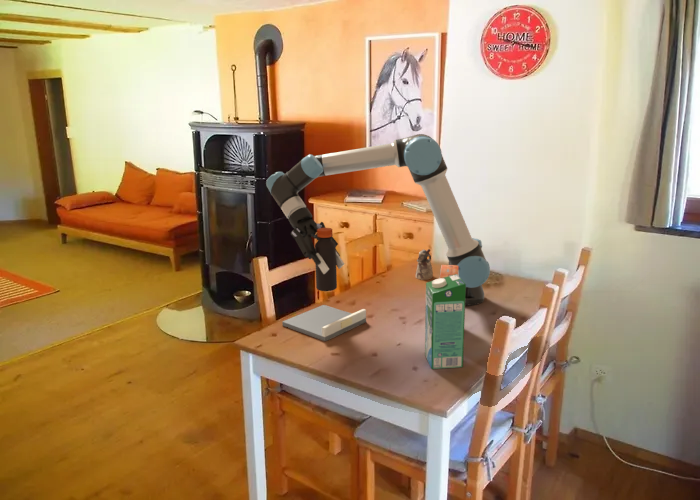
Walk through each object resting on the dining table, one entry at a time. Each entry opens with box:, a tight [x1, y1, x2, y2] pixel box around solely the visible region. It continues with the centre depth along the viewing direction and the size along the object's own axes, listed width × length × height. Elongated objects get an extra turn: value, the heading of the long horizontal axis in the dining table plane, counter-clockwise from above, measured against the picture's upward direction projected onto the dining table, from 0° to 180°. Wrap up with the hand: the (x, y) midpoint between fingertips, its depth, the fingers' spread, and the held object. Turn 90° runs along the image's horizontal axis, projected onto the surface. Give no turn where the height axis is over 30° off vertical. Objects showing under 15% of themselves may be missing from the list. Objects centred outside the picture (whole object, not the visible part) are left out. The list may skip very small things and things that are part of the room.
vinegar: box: [314, 227, 338, 292], centre depth 185 cm, size 7×7×20 cm
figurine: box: [415, 248, 434, 281], centre depth 236 cm, size 7×7×12 cm
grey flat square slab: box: [281, 304, 367, 342], centre depth 192 cm, size 20×20×4 cm
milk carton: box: [424, 274, 466, 370], centre depth 161 cm, size 9×9×25 cm
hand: (334, 268), depth 183 cm, fingers closed on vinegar, 6 cm apart
